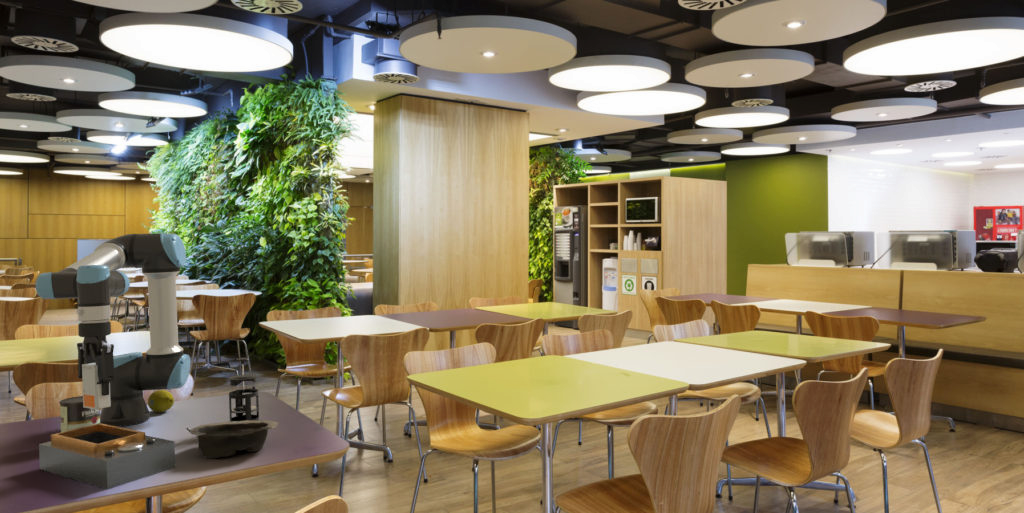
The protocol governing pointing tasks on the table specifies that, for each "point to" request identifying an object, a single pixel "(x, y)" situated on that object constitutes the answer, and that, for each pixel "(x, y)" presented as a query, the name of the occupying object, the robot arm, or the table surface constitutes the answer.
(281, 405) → the table surface
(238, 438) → the stone bowl
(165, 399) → the lemon
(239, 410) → the french press
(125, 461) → the grey open box
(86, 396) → the skincare box
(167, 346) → the robot arm
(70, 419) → the coffee can
